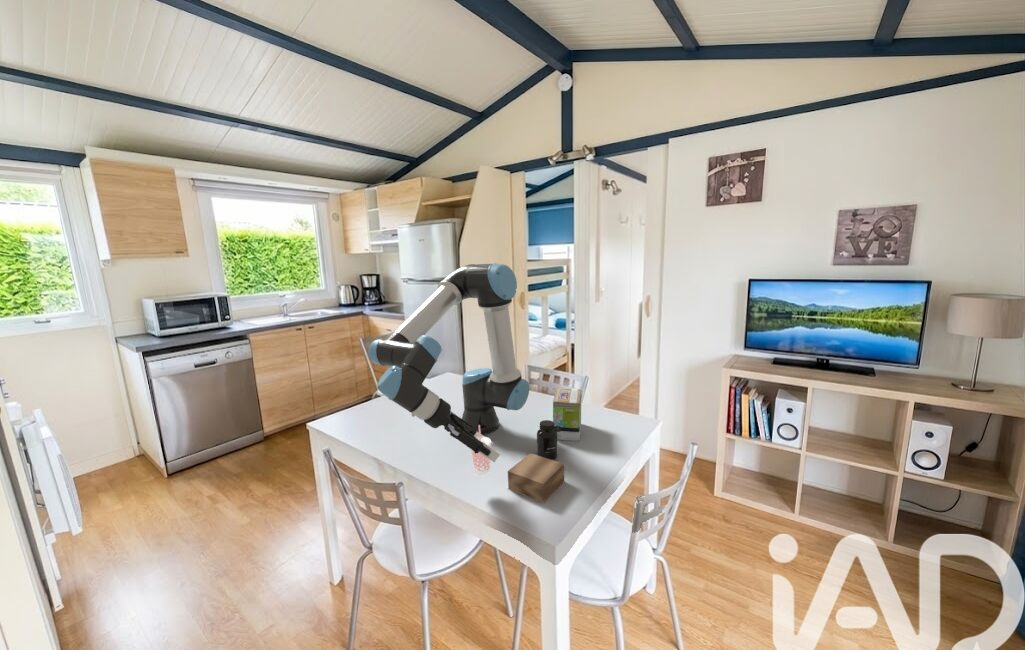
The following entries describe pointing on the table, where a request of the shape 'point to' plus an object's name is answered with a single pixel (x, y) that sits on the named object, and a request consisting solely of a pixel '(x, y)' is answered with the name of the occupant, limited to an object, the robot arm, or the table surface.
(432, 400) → the robot arm
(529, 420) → the table surface
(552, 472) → the walnut block
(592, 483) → the table surface
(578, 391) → the tea box
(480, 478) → the table surface
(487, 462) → the beverage cup
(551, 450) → the supplement bottle
